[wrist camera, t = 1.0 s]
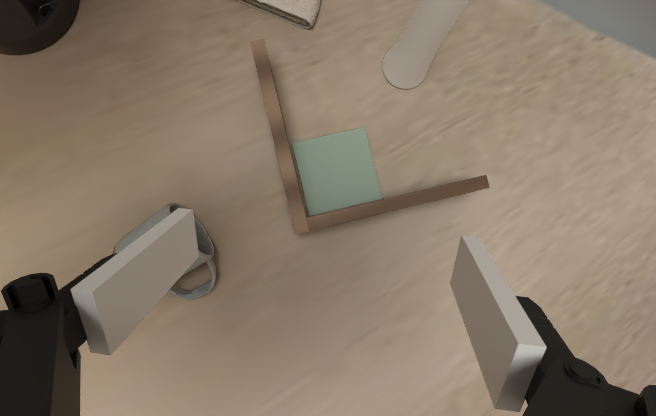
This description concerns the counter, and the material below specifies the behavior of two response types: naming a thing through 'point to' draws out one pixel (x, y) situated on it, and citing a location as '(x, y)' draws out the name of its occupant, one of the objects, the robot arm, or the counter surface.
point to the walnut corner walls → (290, 177)
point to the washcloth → (289, 10)
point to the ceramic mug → (204, 256)
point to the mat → (337, 171)
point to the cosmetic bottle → (421, 41)
